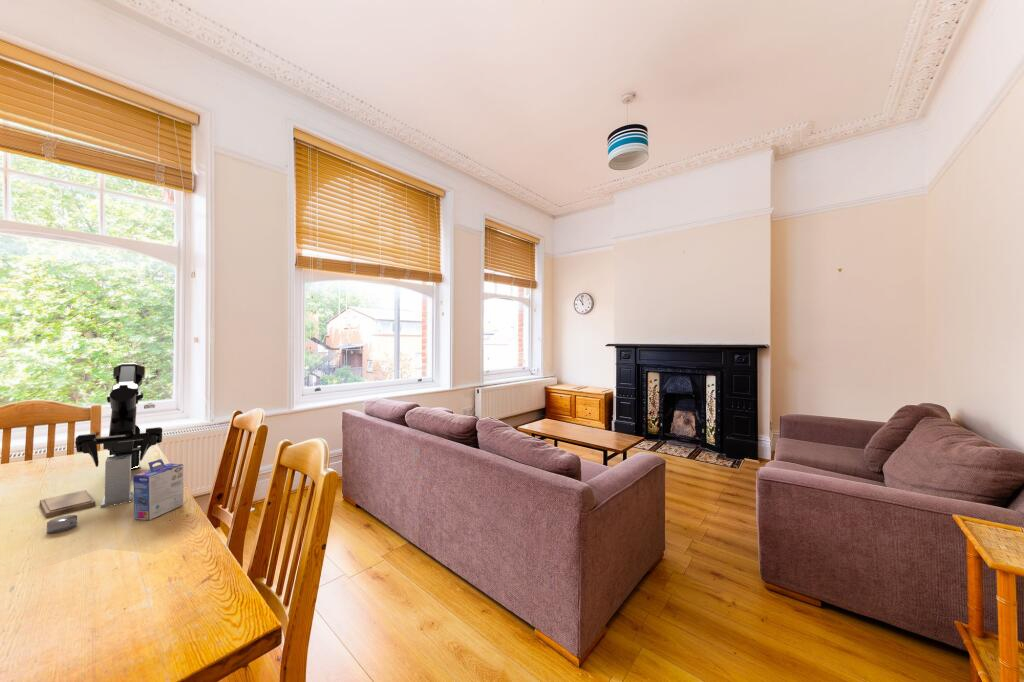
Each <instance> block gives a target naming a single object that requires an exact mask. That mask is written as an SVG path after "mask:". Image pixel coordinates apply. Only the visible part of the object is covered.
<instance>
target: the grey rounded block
mask: <svg viewBox="0 0 1024 682" xmlns="http://www.w3.org/2000/svg"><path fill="white" fill-rule="evenodd" d="M77 526H78V515H76V514H67V515H62V516H59V517H55V518H52V519H50V520H49V521H47V522H46V534H48V535H55V534H61V533H65V532H68V531H71V530H73V529H75V528H77Z"/></svg>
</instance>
